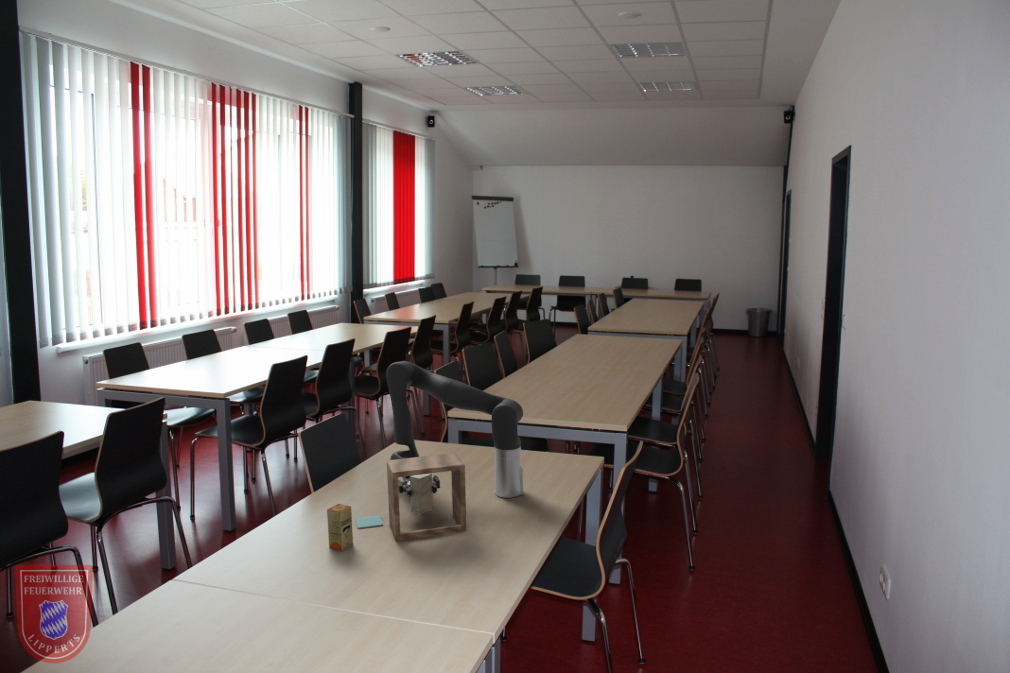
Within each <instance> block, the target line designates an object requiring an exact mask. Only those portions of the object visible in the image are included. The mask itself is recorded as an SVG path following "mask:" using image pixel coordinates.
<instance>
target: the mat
mask: <svg viewBox="0 0 1010 673" xmlns="http://www.w3.org/2000/svg"><path fill="white" fill-rule="evenodd" d="M354 520H355V524H357V525H356V527H357V530H359V529H366V528H375V527H382V526H384V523H383V520H382V517H381V515H380V514H377V515H370V516H369V515H368V516H362V517H355V518H354Z"/></svg>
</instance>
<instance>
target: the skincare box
mask: <svg viewBox="0 0 1010 673" xmlns="http://www.w3.org/2000/svg"><path fill="white" fill-rule="evenodd" d="M432 478H433V473H430V474H422V475H413V476H410V488H411V491H412V496H411V497H410V510H411V511H410V512H411V513H414V514H417V515H423V514H425V513H427V512H429V511H431V510H434V502H433V500H434V497H433V495H434V493H433V492H432Z"/></svg>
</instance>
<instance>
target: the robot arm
mask: <svg viewBox="0 0 1010 673" xmlns="http://www.w3.org/2000/svg"><path fill="white" fill-rule="evenodd" d="M385 376H386V377H385V378H386V382H387V383H386V384H387V387H388V392H389V398H390V403H391V409H392V418H393V434H394V435H393V438H394V443H395V444H396V445H400V446H406V447H407V448H408V449H407V450H406V449H405V450H397V451H394V452H393V453H392V454H391V455H390V458H389V460H397V459H406V458H415V457H420V455H419V452H418V449H417V446H416V442H415V436H414V432H415V431H414V420H413V416H412V413H411V410H410V406H409V404H408V397H407V396H408V394H407V392H408V387H411V388H415V389H419V390H421V391H423V392H426V393H427V394H429V395H430V396H432V397H433V398H434V399H436V400H437V401H438V402H440V403H442V404H445V405H446V406H450V407H452V408H455V409H458V410H462V411H463V410H464V411H472V412H481V413H484V414H487V415H490V416H491V435H492V436H491V437H492V440H493V443H494V444H493V446H494V448H493V449H494V484H495V485H494V491H495V492H494V494H495V495H496V496H497V497H499V498H508V499H510V498H511V499H512V498H515V497H520V496H521V495H524V471H523V470H524V469H523V467H522V454H521V453H522V446H521V445H522V444H521V443H522V442H521V438H520V437H519V434H518V423H519V422H520V421H521V420H522V418H523V417H524V409H523V407H522V405H521V404H520V403H519V402H518V401H516V400H514V399H510V398H506V397H503V396H499V395H494V394H491V393H489V392H487V391H484V390H483V389H482V390H481V389H479V388H477V387H475V386H471V385H469V384H467V383H464V382H462V381H459V380H456V379H453V378H449V377H447V376H444V375H441V374H437V373H434V372H430V371H429V370H427V369H424V368H423V367H420V366H419V365H417V364H414V363H413V362H411V361H407V360H402V361H396V362H393V363H390V365H388V367H387V368H386V372H385ZM401 479H402V480H400V479H398V488H399V494H403V493H404V494H406V496H408V497H410V498H411V496H412V491H411V488H410V476H405V477H401ZM439 489H441V480H440V479H439V477H438V475H435V474H434V475H433V476H432V492H433V494H436V493H437V492H438V490H439Z"/></svg>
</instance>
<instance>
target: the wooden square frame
mask: <svg viewBox="0 0 1010 673" xmlns="http://www.w3.org/2000/svg"><path fill="white" fill-rule="evenodd" d="M386 470H387V472H386V474H387V477H386V478H387V495H388V496H387V497H388V519H389V520H388V523H389V528H390V530H391V534H392V536H393V539H394V542H400V541H406V540H407V541H408V540H414V539H422V538H427V537H434V536H435V537H436V536H442V535H448V534H454V533H462V532H467V503H466V502H467V499H466V496H467V495H466V493H467V492H466V465H465V462H464V461H463V460H462V459H461V458H460V457H459V455H458V454H457V453H456V452H452V453H444V454H434V455H425V456H419V457H415V458H406V459H397V460H390V459H389V460H386ZM445 472H446V473H447V472H451V474H450V475H451V502H452V504H451V506H452V508H451V509H452V519H453V520H454V521H455V523H456V524H454V525H447V526H440V527H434V528H425V529H419V530H418V529H417V530H411V531H406V532H405V531H404V532H401V517H400V516H401V514H400V493H399V488H398V480H399V478H402V477H405V476H413V475H422V474H430V473H431V474H436V473H437V474H439V473H445Z"/></svg>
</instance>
